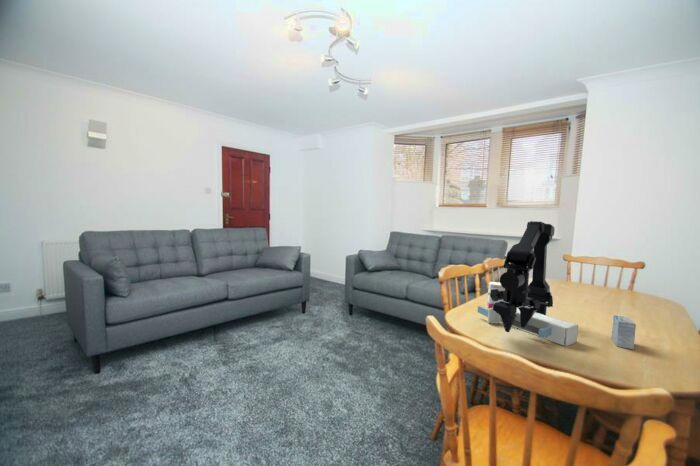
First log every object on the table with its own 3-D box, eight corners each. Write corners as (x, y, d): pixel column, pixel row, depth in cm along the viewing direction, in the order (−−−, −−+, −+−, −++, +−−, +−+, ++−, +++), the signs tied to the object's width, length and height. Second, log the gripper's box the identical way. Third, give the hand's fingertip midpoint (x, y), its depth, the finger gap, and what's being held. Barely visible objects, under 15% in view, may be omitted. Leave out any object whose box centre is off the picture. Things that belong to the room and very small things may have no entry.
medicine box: (634, 350, 97) (636, 324, 97) (615, 346, 100) (618, 321, 99) (627, 341, 104) (630, 317, 103) (611, 338, 106) (613, 314, 106)
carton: (508, 318, 123) (510, 304, 122) (576, 342, 102) (578, 324, 102) (498, 321, 119) (499, 306, 119) (566, 346, 99) (568, 328, 98)
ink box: (488, 309, 134) (490, 283, 133) (487, 306, 139) (488, 281, 138) (509, 312, 132) (511, 285, 131) (507, 308, 136) (509, 283, 136)
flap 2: (547, 339, 103) (549, 323, 103) (564, 345, 99) (565, 328, 98) (537, 343, 100) (538, 326, 99) (553, 349, 96) (555, 331, 95)
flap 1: (499, 322, 118) (500, 308, 118) (488, 323, 117) (489, 308, 116) (487, 316, 124) (487, 302, 124) (476, 317, 123) (477, 303, 123)
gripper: (511, 277, 114) (508, 317, 115) (480, 282, 105) (477, 326, 106) (542, 284, 105) (538, 328, 106) (511, 290, 95) (507, 338, 96)
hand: (515, 329), depth 104 cm, fingers open, 9 cm apart
